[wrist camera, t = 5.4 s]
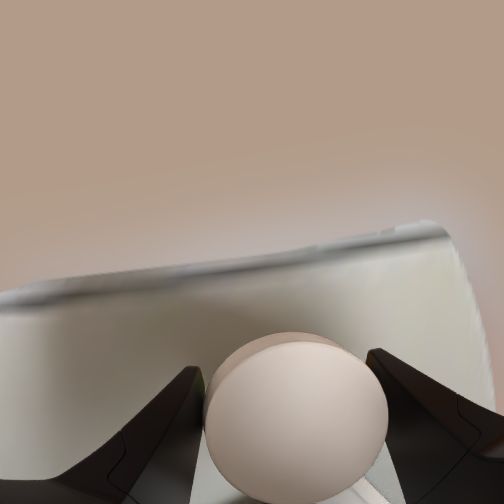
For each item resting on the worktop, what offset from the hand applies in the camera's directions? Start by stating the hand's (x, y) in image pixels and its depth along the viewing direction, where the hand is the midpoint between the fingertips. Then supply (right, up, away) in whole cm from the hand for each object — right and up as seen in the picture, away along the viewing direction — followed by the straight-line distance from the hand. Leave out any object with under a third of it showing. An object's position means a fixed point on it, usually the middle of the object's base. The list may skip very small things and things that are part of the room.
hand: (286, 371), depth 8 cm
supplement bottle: (+1, -4, +6) cm, 7 cm away
